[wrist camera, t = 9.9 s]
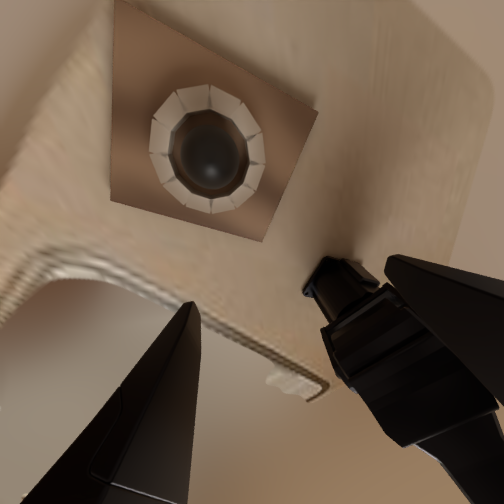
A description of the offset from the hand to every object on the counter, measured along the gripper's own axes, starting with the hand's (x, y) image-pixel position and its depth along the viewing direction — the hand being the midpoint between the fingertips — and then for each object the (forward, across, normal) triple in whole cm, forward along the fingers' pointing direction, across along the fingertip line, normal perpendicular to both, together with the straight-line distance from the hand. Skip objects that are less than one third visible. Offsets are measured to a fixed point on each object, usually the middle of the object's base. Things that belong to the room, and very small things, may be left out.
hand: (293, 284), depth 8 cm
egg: (+11, +3, -5) cm, 13 cm away
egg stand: (+12, +3, -5) cm, 13 cm away
